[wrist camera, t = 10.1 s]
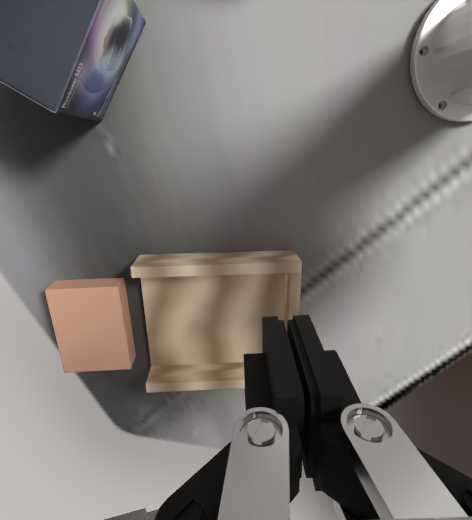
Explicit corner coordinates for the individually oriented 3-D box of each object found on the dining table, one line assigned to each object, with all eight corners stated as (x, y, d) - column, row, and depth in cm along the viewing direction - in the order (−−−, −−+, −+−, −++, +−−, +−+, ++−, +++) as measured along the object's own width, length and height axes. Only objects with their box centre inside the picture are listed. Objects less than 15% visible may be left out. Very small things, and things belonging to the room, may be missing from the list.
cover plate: (125, 276, 39) (118, 286, 37) (136, 354, 43) (131, 369, 40) (57, 279, 39) (44, 289, 36) (74, 357, 43) (64, 372, 40)
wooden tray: (293, 250, 39) (302, 261, 35) (288, 364, 44) (295, 385, 40) (139, 254, 38) (130, 267, 34) (153, 369, 43) (146, 392, 40)
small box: (104, 126, 34) (56, 119, 24) (42, 89, 32) (-37, 65, 22) (150, 22, 31) (118, -36, 21) (84, -23, 30) (16, -107, 20)
